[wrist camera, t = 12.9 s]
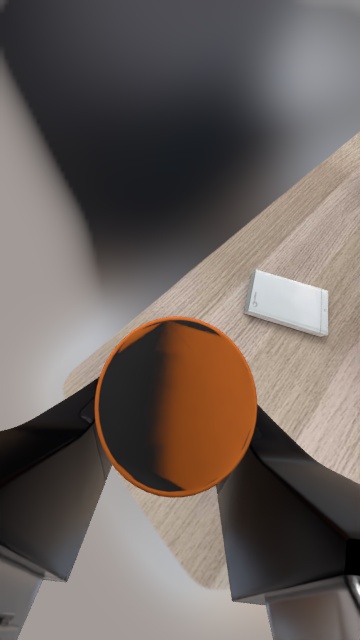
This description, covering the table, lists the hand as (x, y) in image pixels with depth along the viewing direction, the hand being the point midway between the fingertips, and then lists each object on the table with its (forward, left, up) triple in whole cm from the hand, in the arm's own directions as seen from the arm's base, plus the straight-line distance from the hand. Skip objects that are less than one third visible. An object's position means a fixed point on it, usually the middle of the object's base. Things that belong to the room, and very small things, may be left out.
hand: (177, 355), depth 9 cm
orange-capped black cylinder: (-1, -1, -7) cm, 7 cm away
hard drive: (+18, -10, -14) cm, 25 cm away
